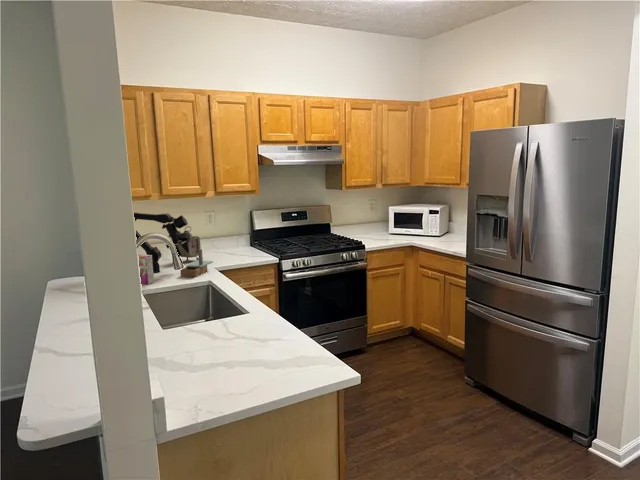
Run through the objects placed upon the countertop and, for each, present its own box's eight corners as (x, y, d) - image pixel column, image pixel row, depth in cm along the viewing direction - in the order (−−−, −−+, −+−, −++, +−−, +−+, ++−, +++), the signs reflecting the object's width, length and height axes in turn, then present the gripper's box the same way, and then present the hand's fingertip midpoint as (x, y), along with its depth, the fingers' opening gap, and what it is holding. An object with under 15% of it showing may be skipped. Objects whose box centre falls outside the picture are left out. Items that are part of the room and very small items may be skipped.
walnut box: (195, 277, 260) (194, 270, 259) (180, 276, 263) (180, 269, 262) (207, 272, 273) (207, 265, 272) (193, 271, 276) (192, 264, 275)
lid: (201, 267, 265) (200, 250, 264) (186, 266, 268) (185, 250, 267) (212, 262, 279) (212, 246, 277) (198, 261, 282) (197, 246, 280)
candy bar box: (133, 283, 250) (131, 255, 247) (140, 281, 254) (138, 253, 252) (148, 284, 245) (145, 256, 243) (154, 282, 250) (152, 254, 247)
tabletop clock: (188, 263, 299) (185, 227, 295) (177, 263, 302) (175, 227, 298) (201, 259, 312) (199, 225, 308) (191, 258, 315) (188, 224, 311)
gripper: (174, 228, 260) (186, 251, 261) (190, 224, 278) (202, 246, 279) (160, 236, 264) (172, 259, 264) (177, 231, 281) (188, 253, 282)
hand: (184, 254), depth 272 cm, fingers open, 9 cm apart
